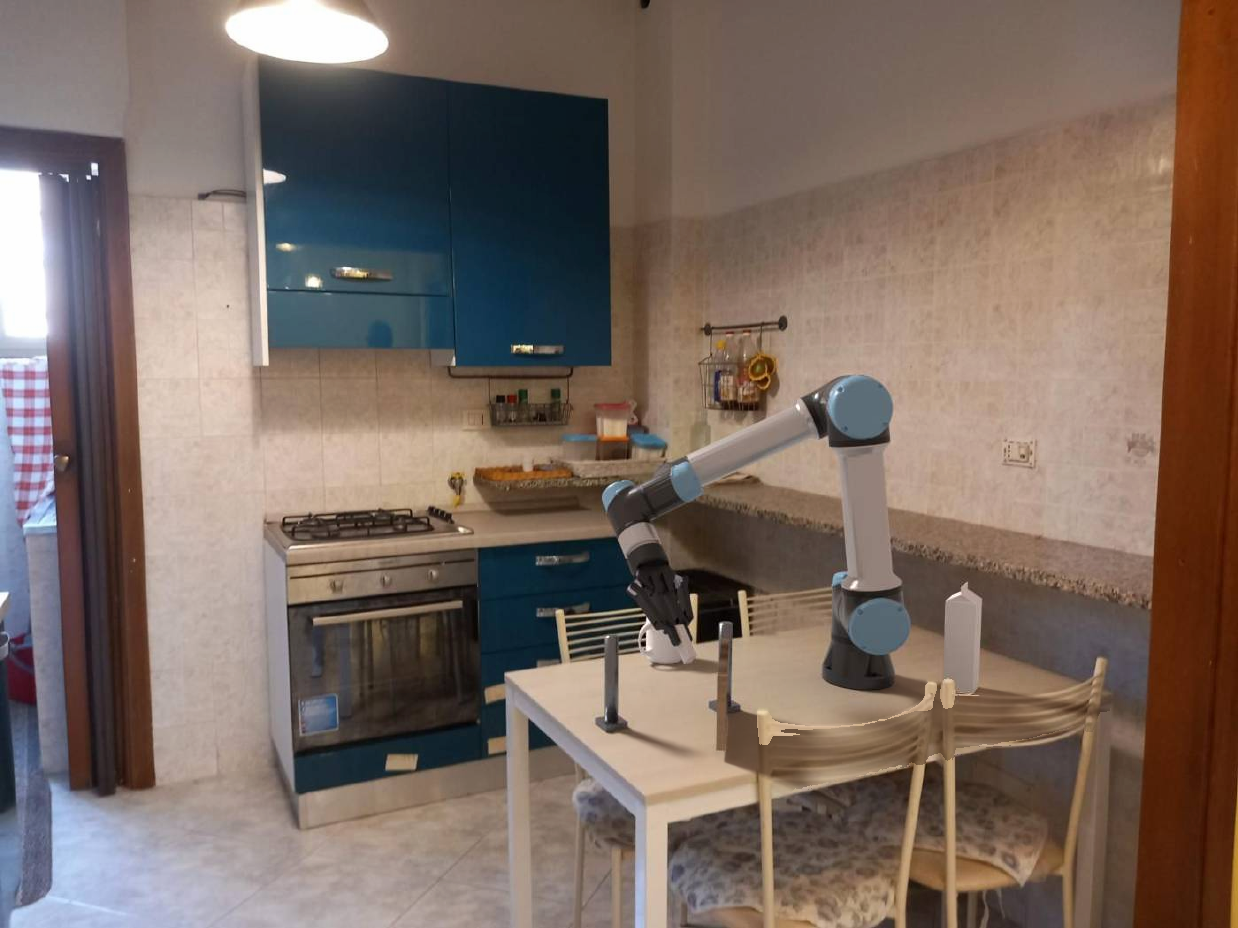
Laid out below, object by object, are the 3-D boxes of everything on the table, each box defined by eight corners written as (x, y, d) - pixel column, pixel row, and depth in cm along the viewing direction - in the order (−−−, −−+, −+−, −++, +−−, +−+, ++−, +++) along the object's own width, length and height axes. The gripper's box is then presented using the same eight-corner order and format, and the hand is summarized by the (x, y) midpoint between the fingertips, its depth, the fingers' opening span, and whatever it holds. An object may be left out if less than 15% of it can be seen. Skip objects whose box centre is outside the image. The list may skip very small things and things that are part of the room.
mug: (626, 660, 212) (626, 613, 211) (667, 650, 219) (667, 606, 218) (650, 669, 205) (650, 622, 204) (691, 659, 212) (692, 613, 211)
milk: (978, 687, 194) (983, 583, 192) (972, 696, 189) (977, 589, 187) (948, 682, 198) (953, 579, 195) (941, 690, 192) (946, 585, 190)
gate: (720, 704, 180) (721, 638, 178) (729, 704, 179) (731, 638, 178) (716, 750, 158) (717, 675, 156) (727, 751, 157) (728, 676, 156)
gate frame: (720, 699, 186) (722, 616, 185) (740, 710, 180) (741, 624, 179) (595, 723, 173) (595, 634, 172) (612, 736, 167) (612, 643, 166)
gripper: (665, 559, 186) (712, 664, 173) (607, 566, 180) (651, 675, 167) (680, 537, 181) (729, 643, 168) (620, 543, 174) (667, 654, 161)
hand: (690, 659), depth 167 cm, fingers closed
